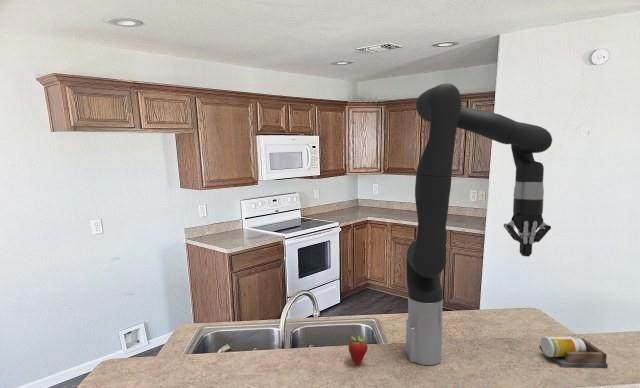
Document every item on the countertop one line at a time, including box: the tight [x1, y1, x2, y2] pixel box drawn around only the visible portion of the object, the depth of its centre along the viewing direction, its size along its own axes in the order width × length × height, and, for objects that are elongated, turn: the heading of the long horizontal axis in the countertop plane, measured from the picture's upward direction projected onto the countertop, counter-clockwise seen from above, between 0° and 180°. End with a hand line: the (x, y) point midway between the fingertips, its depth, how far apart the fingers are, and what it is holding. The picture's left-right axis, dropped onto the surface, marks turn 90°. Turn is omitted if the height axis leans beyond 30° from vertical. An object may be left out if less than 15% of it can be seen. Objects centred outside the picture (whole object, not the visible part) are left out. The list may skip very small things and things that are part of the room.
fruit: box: [348, 335, 368, 365], centre depth 97 cm, size 5×5×8 cm
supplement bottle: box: [540, 335, 586, 358], centre depth 98 cm, size 5×5×10 cm
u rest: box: [539, 337, 609, 369], centre depth 99 cm, size 12×10×4 cm
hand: (525, 255), depth 105 cm, fingers closed
